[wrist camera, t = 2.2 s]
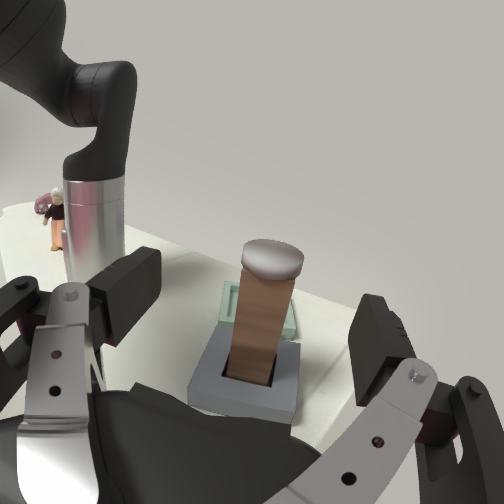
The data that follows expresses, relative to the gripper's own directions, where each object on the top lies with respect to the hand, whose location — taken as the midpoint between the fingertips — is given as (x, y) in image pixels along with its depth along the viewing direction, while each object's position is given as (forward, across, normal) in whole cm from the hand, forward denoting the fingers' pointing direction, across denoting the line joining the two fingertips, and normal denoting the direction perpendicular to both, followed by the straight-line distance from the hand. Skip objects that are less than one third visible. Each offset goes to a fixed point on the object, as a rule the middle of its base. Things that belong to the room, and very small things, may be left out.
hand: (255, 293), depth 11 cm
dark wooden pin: (+12, 0, +18) cm, 21 cm away
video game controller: (+45, +66, +18) cm, 82 cm away
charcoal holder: (+12, 0, +18) cm, 22 cm away
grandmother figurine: (+29, +43, +18) cm, 55 cm away
